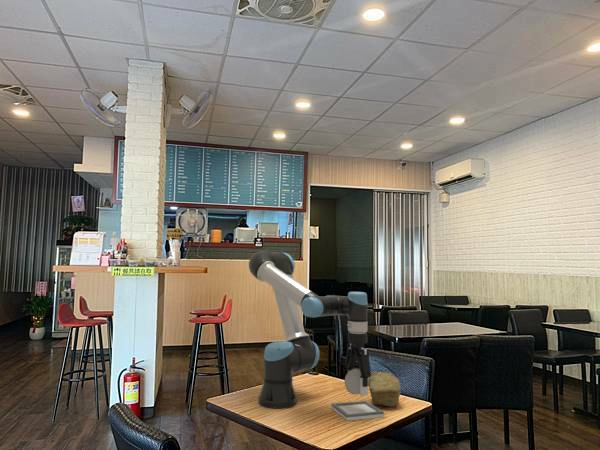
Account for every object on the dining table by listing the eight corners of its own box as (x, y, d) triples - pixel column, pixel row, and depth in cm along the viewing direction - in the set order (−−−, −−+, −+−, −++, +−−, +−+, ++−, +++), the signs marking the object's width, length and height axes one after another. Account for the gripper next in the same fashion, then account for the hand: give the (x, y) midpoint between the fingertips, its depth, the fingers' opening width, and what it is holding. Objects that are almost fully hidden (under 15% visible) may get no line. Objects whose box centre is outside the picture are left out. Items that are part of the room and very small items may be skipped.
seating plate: (331, 408, 173) (331, 403, 173) (365, 405, 178) (365, 400, 178) (347, 420, 159) (347, 415, 159) (384, 417, 163) (384, 412, 164)
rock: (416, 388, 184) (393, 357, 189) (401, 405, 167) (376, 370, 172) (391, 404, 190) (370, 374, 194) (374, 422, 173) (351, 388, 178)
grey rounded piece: (339, 376, 165) (345, 360, 174) (344, 399, 167) (349, 383, 176) (364, 377, 161) (369, 361, 170) (369, 400, 164) (373, 383, 173)
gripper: (336, 328, 181) (336, 384, 178) (362, 337, 159) (362, 400, 157) (353, 328, 183) (353, 383, 181) (380, 336, 161) (380, 399, 159)
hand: (357, 391), depth 169 cm, fingers closed on grey rounded piece, 10 cm apart
